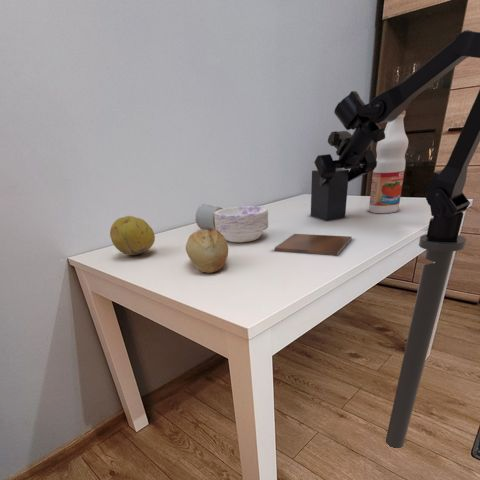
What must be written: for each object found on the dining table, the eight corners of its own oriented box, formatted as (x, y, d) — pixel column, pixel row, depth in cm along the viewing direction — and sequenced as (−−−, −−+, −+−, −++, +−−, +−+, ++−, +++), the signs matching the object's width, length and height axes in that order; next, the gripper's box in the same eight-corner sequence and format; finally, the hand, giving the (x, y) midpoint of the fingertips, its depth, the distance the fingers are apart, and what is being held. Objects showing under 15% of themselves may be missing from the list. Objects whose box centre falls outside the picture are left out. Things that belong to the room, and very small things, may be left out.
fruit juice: (381, 207, 121) (394, 111, 106) (404, 210, 114) (421, 108, 99) (362, 211, 117) (373, 113, 102) (384, 215, 110) (399, 109, 95)
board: (351, 239, 90) (351, 236, 89) (337, 255, 80) (337, 252, 79) (294, 236, 97) (294, 233, 96) (274, 250, 87) (274, 247, 86)
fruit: (119, 264, 87) (108, 223, 82) (113, 253, 97) (103, 216, 91) (161, 255, 91) (153, 216, 86) (152, 246, 100) (144, 210, 95)
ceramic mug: (215, 233, 107) (213, 207, 103) (196, 231, 111) (193, 206, 107) (236, 226, 114) (234, 201, 110) (217, 224, 118) (215, 201, 114)
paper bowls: (269, 230, 105) (268, 203, 100) (268, 244, 92) (267, 213, 88) (220, 233, 107) (218, 206, 102) (212, 247, 94) (209, 217, 90)
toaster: (345, 217, 112) (349, 169, 104) (327, 220, 110) (329, 171, 102) (325, 212, 121) (327, 167, 113) (308, 215, 119) (309, 169, 111)
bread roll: (220, 253, 88) (217, 221, 84) (236, 270, 76) (233, 234, 72) (184, 259, 86) (178, 227, 82) (194, 278, 74) (188, 241, 70)
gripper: (376, 116, 97) (348, 159, 112) (319, 121, 92) (298, 165, 106) (391, 148, 95) (361, 188, 109) (334, 155, 90) (310, 195, 104)
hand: (332, 183), depth 108 cm, fingers open, 9 cm apart
